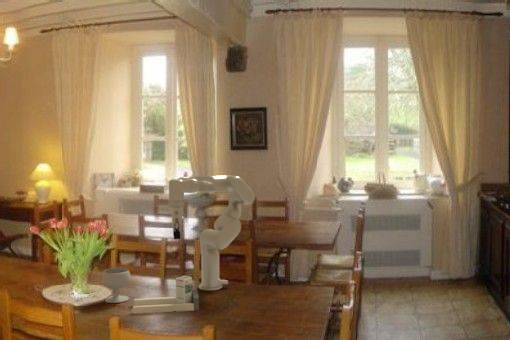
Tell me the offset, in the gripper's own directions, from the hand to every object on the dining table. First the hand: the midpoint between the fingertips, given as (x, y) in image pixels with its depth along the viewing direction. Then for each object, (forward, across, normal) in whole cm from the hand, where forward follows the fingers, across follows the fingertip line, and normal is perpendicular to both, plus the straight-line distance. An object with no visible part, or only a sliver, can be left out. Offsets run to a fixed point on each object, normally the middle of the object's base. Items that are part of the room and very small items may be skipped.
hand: (176, 237), depth 282 cm
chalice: (+31, -2, +30) cm, 43 cm away
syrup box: (+31, -18, -3) cm, 36 cm away
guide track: (+30, -18, +6) cm, 36 cm away
